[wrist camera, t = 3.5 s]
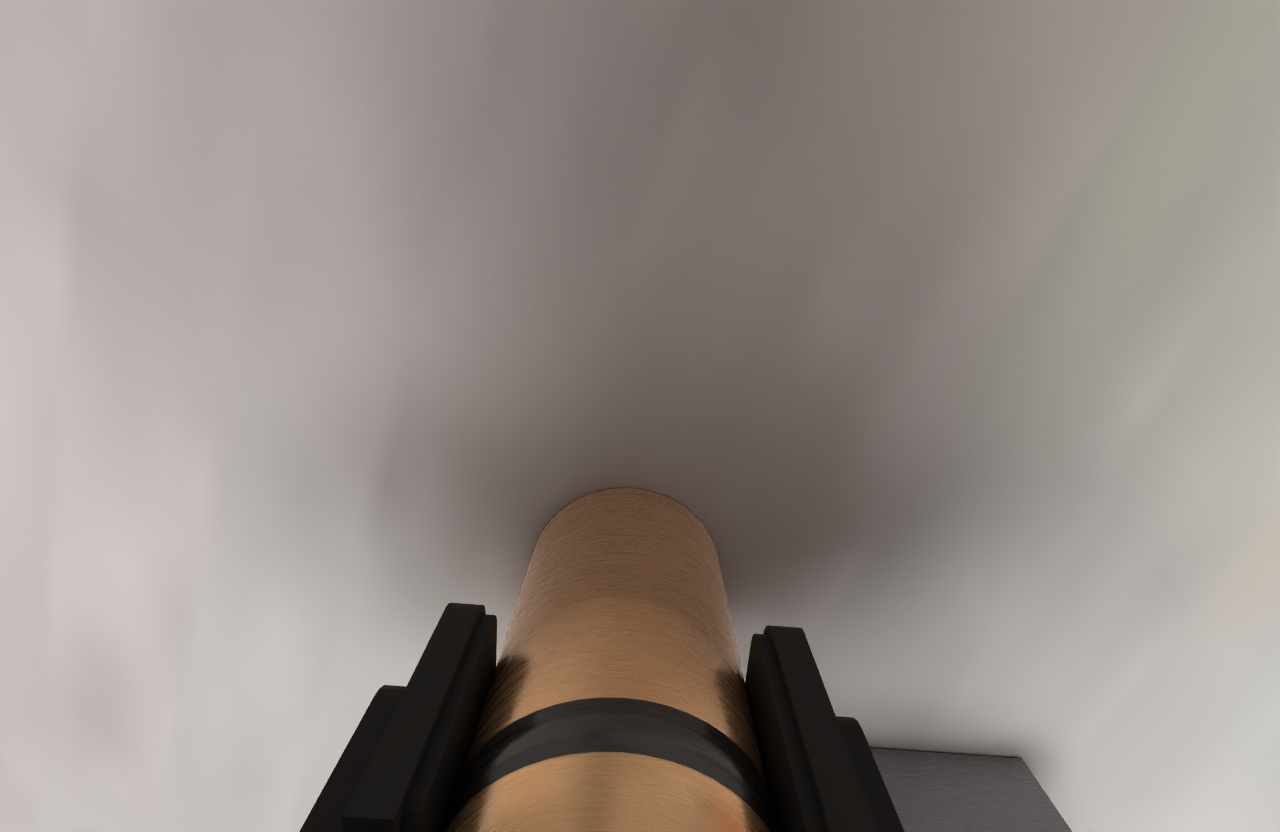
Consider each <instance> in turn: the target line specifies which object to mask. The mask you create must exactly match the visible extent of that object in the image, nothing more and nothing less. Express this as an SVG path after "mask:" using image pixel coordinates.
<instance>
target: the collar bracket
mask: <svg viewBox="0 0 1280 832" xmlns="http://www.w3.org/2000/svg"><path fill="white" fill-rule="evenodd" d="M870 750H871V752H872V754H873V757H874V759H875V762H876V764H877V766H878V769H879V771H880V774H881V776H882V778H883V781H884V783H885V786H886V788H887V790H888V793H889V795H890V798H891V800H892V802H893V805H894V807H895V810H896V812H897V814H898V817H899V819H900V822H901V824H902V826H903V829H904V831H905V832H1072V831H1071V830H1070V828H1069V827H1068V825H1067V824H1066V822H1065V821H1064V819H1063V818H1062V816H1061V815H1060V813H1059V812H1058V811H1057V809H1056V808H1055V806H1054V805H1053V803H1052V802H1051V800H1050V799H1049V797H1048V796H1047V795H1046V793H1045V792H1044V790H1043V789H1042V787H1041V786H1040V784H1039V783H1038V781H1037V780H1036V779H1035V777H1034V776H1033V774H1032V773H1031V771H1030V770H1029V768H1028V767H1027V765H1026V764H1025V763H1024V761H1023V760H1022V758H1008V757H993V756H979V755H964V754H949V753H935V752H920V751H906V750H891V749H877V748H870Z"/></svg>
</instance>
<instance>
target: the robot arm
mask: <svg viewBox="0 0 1280 832" xmlns="http://www.w3.org/2000/svg"><path fill="white" fill-rule="evenodd" d="M496 642H497V618H496V616H495V615H486V613H485V607H484V605H474V604H460V603H449V604H448V605H447V606H446V608H445V610H444V612H443V614H442V616H441V618H440V620H439V622H438V624H437V626H436V628H435V630H434V632H433V634H432V636H431V638H430V640H429V643H428V645H427V647H426V649H425V651H424V653H423V655H422V657H421V659H420V661H419V663H418V665H417V667H416V669H415V671H414V673H413V675H412V677H411V679H410V681H409V683H408V685H407V687H404V686H389V685H384V686H382V687H381V688H380V689H379V690H378V692H377V693H376V694H375V696H374V698H373V700H372V701H371V703H370V705H369V707H368V709H367V710H366V712H365V714H364V716H363V718H362V720H361V721H360V723H359V725H358V727H357V729H356V730H355V732H354V734H353V736H352V738H351V739H350V741H349V743H348V745H347V747H346V748H345V750H344V752H343V754H342V756H341V758H340V759H339V761H338V763H337V765H336V767H335V768H334V770H333V772H332V774H331V776H330V777H329V779H328V781H327V783H326V785H325V786H324V788H323V790H322V792H321V794H320V796H319V797H318V799H317V801H316V803H315V805H314V806H313V808H312V810H311V812H310V814H309V815H308V817H307V819H306V821H305V823H304V824H303V826H302V828H301V830H300V832H441V831H442V828H443V825H444V822H445V819H446V816H447V813H448V810H449V807H450V804H451V801H452V798H453V795H454V791H455V788H456V786H457V784H458V782H459V779H460V777H461V775H462V772H463V769H464V766H465V763H466V760H467V757H468V753H469V750H470V747H471V744H472V741H473V738H474V735H475V732H476V729H477V726H478V722H479V719H480V716H481V713H482V710H483V707H484V704H485V701H486V698H487V694H488V691H489V688H490V685H491V682H492V679H493V676H494V673H495V670H496ZM745 686H746V691H747V696H748V701H749V705H750V710H751V715H752V719H753V724H754V729H755V734H756V738H757V743H758V748H759V753H760V757H761V762H762V767H763V771H764V776H765V781H766V786H767V789H768V792H769V795H770V799H771V803H772V807H773V811H774V815H775V820H776V825H777V829H778V832H905V831H904V829H903V826H902V824H901V822H900V819H899V817H898V814H897V812H896V810H895V807H894V805H893V802H892V800H891V798H890V795H889V793H888V790H887V788H886V786H885V783H884V781H883V778H882V776H881V774H880V771H879V769H878V766H877V764H876V762H875V759H874V757H873V754H872V752H871V750H870V747H869V745H868V742H867V740H866V738H865V735H864V733H863V730H862V728H861V726H860V725H859V723H858V721H857V720H855V719H854V718H851V717H837V716H835V713H834V711H833V708H832V705H831V703H830V700H829V697H828V695H827V692H826V689H825V687H824V684H823V681H822V679H821V676H820V673H819V671H818V668H817V665H816V663H815V660H814V657H813V655H812V652H811V649H810V647H809V644H808V641H807V639H806V636H805V633H804V631H803V629H801V628H796V627H782V626H768V625H767V626H766V628H765V630H764V634H754V635H753V637H752V641H751V647H750V654H749V661H748V668H747V675H746V681H745Z"/></svg>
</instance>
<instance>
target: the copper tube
mask: <svg viewBox="0 0 1280 832" xmlns="http://www.w3.org/2000/svg"><path fill="white" fill-rule="evenodd" d="M441 832H778V829H777V825H776V820H775V815H774V811H773V807H772V803H771V799H770V795H769V792H768V789H767V786H766V781H765V776H764V771H763V767H762V762H761V757H760V753H759V748H758V743H757V738H756V734H755V729H754V724H753V719H752V715H751V710H750V705H749V701H748V696H747V691H746V686H745V682H744V677H743V672H742V668H741V663H740V658H739V653H738V649H737V644H736V639H735V634H734V630H733V625H732V620H731V616H730V611H729V606H728V601H727V597H726V592H725V587H724V583H723V578H722V573H721V568H720V564H719V559H718V555H717V551H716V548H715V545H714V543H713V540H712V538H711V536H710V535H709V533H708V531H707V530H706V528H705V527H704V525H703V524H702V523H701V522H700V520H699V519H698V518H697V517H696V516H695V515H694V514H693V513H692V512H691V511H689V510H688V509H687V508H685V507H684V506H683V505H681V504H680V503H678V502H676V501H674V500H672V499H671V498H669V497H666V496H664V495H661V494H659V493H656V492H652V491H648V490H643V489H636V488H614V489H606V490H601V491H597V492H594V493H591V494H588V495H585V496H583V497H581V498H579V499H577V500H575V501H573V502H571V503H570V504H568V505H567V506H566V507H564V508H563V509H561V510H560V511H559V512H558V513H557V514H556V515H555V516H554V517H553V518H552V519H551V520H550V522H549V523H548V524H547V525H546V526H545V528H544V530H543V531H542V533H541V535H540V536H539V539H538V541H537V543H536V546H535V549H534V552H533V555H532V558H531V561H530V564H529V567H528V570H527V573H526V577H525V580H524V583H523V586H522V589H521V592H520V595H519V598H518V601H517V605H516V608H515V611H514V614H513V617H512V620H511V623H510V626H509V629H508V632H507V636H506V639H505V642H504V645H503V648H502V651H501V654H500V657H499V660H498V663H497V667H496V670H495V673H494V676H493V679H492V682H491V685H490V688H489V691H488V694H487V698H486V701H485V704H484V707H483V710H482V713H481V716H480V719H479V722H478V726H477V729H476V732H475V735H474V738H473V741H472V744H471V747H470V750H469V753H468V757H467V760H466V763H465V766H464V769H463V772H462V775H461V777H460V779H459V782H458V784H457V786H456V788H455V791H454V795H453V798H452V801H451V804H450V807H449V810H448V813H447V816H446V819H445V822H444V825H443V828H442V831H441Z"/></svg>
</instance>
